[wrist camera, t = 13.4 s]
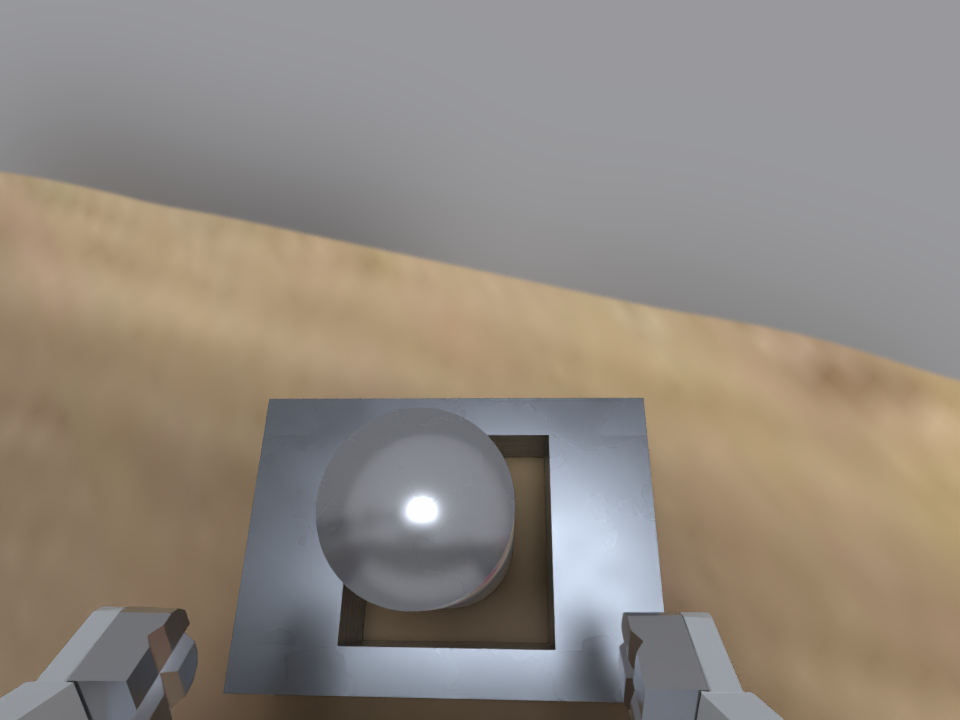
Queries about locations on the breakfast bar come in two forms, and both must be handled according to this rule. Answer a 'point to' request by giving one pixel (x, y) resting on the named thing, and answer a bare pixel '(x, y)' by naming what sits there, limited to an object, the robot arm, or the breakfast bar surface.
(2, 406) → the breakfast bar surface
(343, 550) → the steel axle
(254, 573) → the socket block
